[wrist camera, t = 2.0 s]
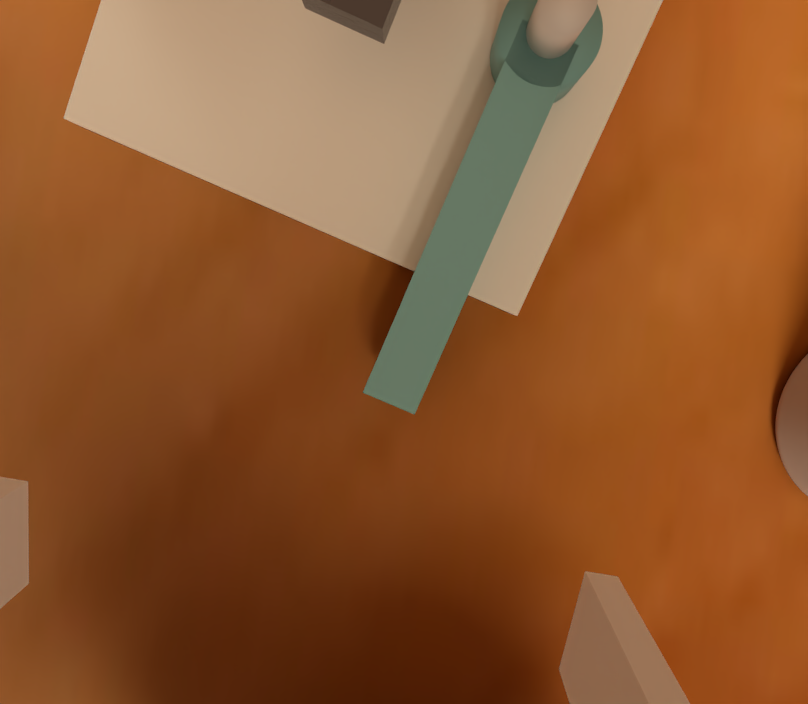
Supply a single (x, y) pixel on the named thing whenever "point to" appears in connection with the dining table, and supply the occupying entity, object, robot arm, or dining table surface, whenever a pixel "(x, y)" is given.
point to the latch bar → (485, 182)
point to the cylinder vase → (794, 426)
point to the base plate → (346, 115)
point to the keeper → (358, 14)
